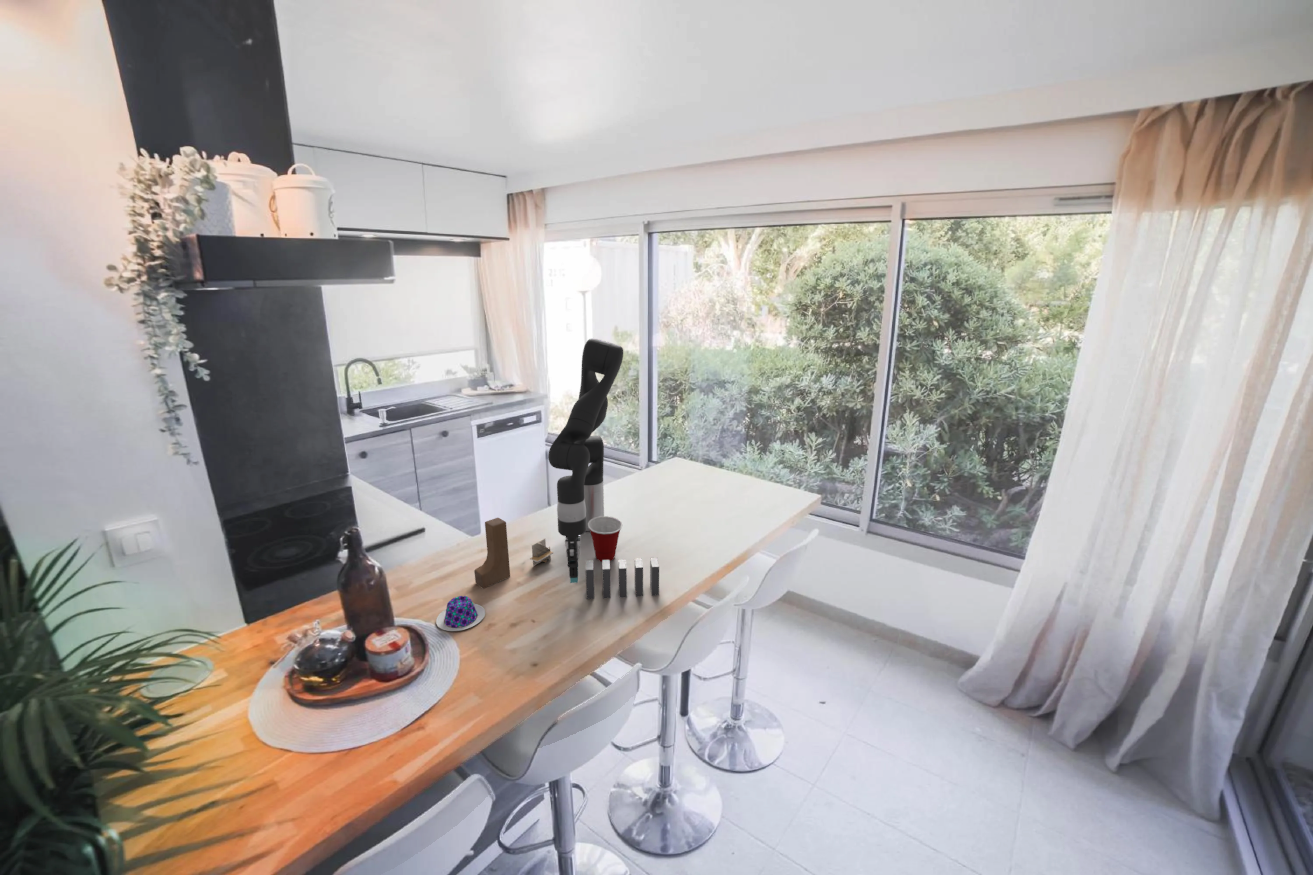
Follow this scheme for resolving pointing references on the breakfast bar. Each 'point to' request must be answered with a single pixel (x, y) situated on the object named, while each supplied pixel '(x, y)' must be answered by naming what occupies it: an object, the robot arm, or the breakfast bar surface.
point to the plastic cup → (605, 536)
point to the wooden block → (494, 555)
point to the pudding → (460, 614)
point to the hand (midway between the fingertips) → (574, 571)
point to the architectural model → (540, 552)
